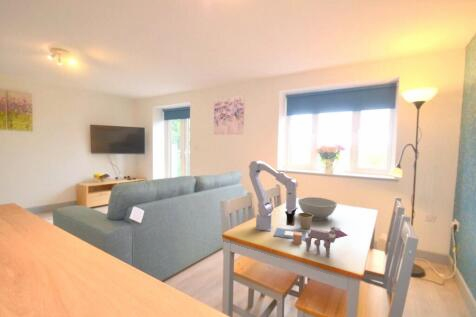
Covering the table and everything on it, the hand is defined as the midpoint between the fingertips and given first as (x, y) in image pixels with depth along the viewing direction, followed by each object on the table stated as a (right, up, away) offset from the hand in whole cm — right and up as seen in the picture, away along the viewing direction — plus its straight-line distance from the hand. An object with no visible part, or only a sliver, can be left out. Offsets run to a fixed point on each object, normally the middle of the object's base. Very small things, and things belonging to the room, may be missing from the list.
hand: (290, 221), depth 140 cm
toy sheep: (+13, -10, -22) cm, 27 cm away
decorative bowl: (+26, -6, +32) cm, 42 cm away
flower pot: (+12, -7, +11) cm, 18 cm away
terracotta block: (+1, -9, -10) cm, 14 cm away
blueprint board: (0, -8, +1) cm, 8 cm away
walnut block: (0, -2, 0) cm, 2 cm away
